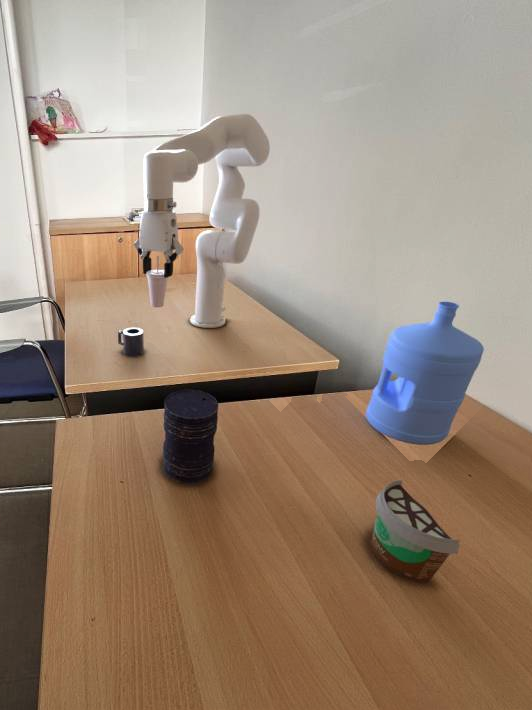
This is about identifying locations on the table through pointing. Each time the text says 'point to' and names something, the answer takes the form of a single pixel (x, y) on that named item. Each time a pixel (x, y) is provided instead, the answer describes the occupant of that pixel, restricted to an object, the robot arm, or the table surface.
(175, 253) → the robot arm
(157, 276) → the smoothie
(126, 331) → the mug
